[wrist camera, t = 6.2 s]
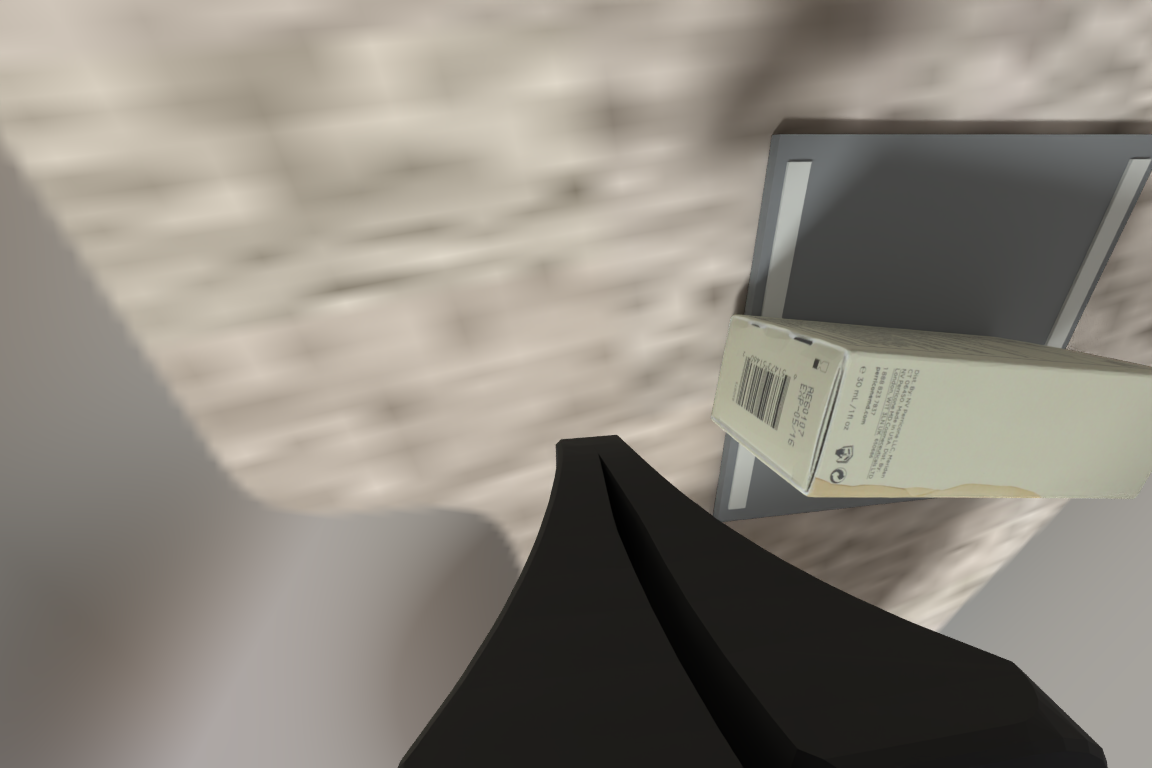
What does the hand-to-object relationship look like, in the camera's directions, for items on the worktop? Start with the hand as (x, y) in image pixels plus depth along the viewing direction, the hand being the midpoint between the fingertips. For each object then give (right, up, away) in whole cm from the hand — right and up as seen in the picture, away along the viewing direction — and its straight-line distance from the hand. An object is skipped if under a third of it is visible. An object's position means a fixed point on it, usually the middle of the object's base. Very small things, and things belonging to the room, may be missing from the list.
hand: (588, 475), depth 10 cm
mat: (+14, +3, +9) cm, 17 cm away
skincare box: (+5, +2, +5) cm, 7 cm away
